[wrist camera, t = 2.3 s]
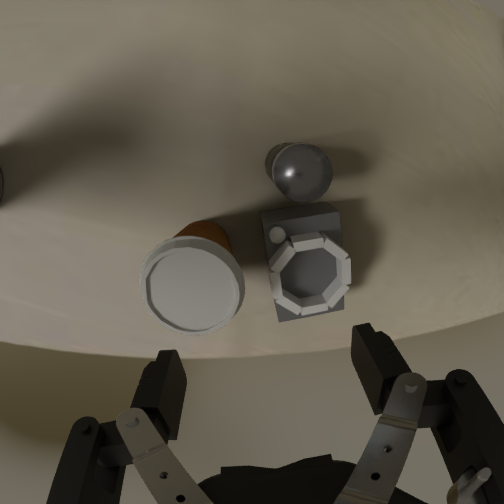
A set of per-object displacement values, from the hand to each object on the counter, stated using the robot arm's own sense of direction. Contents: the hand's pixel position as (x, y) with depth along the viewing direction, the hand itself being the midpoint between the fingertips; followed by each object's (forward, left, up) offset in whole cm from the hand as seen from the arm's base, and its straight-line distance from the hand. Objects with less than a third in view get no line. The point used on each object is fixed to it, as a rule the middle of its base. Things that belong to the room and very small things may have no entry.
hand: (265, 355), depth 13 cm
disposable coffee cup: (+2, -6, -24) cm, 25 cm away
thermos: (-5, +5, -24) cm, 25 cm away
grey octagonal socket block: (+6, +5, -24) cm, 25 cm away
